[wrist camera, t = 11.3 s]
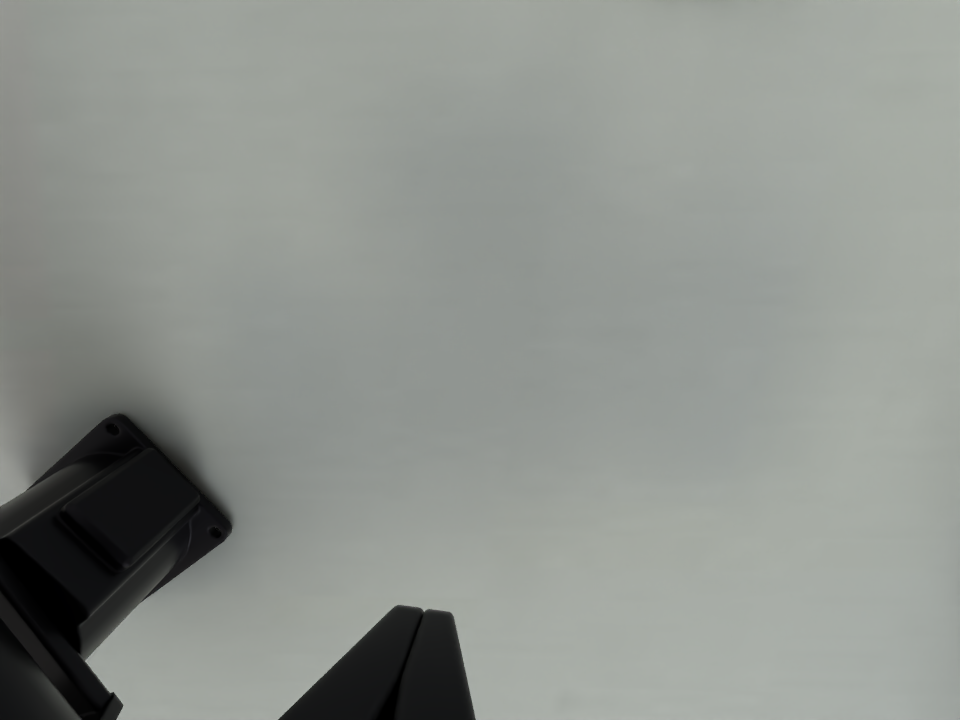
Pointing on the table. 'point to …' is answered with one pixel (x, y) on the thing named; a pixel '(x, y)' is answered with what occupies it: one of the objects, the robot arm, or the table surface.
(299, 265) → the table surface
